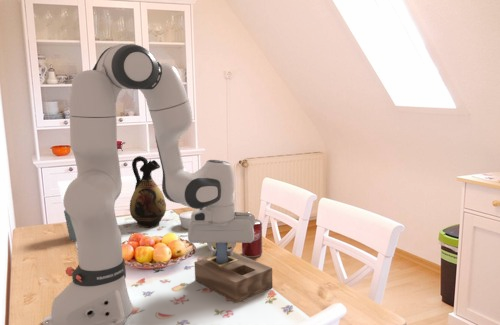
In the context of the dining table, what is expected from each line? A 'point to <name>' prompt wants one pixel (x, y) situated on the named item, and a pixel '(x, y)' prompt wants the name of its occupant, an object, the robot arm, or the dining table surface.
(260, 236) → the soda can
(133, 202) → the ceramic jug
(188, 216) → the ramekin
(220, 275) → the socket block
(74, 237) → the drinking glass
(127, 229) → the dining table surface
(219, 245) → the peg
